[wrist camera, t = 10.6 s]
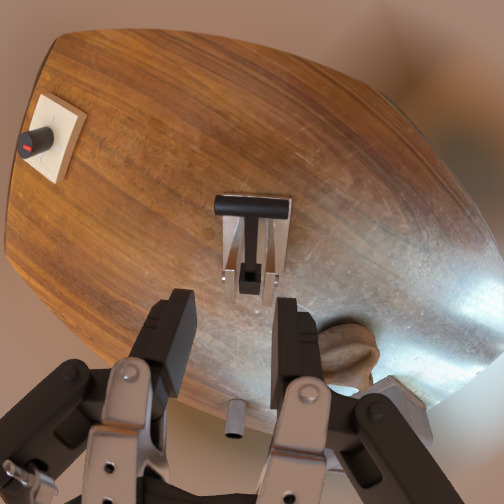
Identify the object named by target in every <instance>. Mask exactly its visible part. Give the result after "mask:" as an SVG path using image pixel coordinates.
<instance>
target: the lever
mask: <svg viewBox="0 0 504 504" xmlns="http://www.w3.org/2000/svg"><path fill="white" fill-rule="evenodd" d="M214 212H215V215H220V216H237V217H244V247H245V262H241V267H240V276H239V293H240V294H253V295H259V293H260V282H261V267H262V264H259V263H256V262H257V243H258V225H259V218H267V219H281V220H288V216H289V200H288V199H276V198H262V197H247V196H228V195H216V197H215V203H214Z"/></svg>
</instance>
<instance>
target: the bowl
mask: <svg viewBox="0 0 504 504" xmlns="http://www.w3.org/2000/svg"><path fill="white" fill-rule="evenodd" d="M317 336H318V344H319V350H320V357H321V364H322V371H323V378H324V380H325V382H326V384H332V385H338V386H349V387H354V388H357V389H358V390H360V391H366V390H368V389H369V388H371V387H372V386H373V377H372V374H371V370H372V369H373V367H374V366H375V365H376V363H377V362H378V360H379V357H380V352H379V350H378V348H377V346H376V341H375V338H374V336H373V334H372V333H371V332H370V331H369V330H368V329H367V328H365V327H363V326H361V325H357V324H342V325H337V326H334V327H331V328H329V329H327V330H325V331H322V332H321V333H320V334H319V335H317Z"/></svg>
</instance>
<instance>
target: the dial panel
mask: <svg viewBox="0 0 504 504" xmlns="http://www.w3.org/2000/svg"><path fill="white" fill-rule="evenodd" d="M86 117H87V114H86V113H84V112H83V111H81V110H79V109H77V108H76V107H74V106H72V105H71V104H69V103H67V102H66V101H64V100H62V99H60V98H59V97H57V96H55V95H54V94H52V93H45V94H41V95H40V98H39V101H38V103H37V106H36V109H35V112H34V115H33V119H32V122H31V125H30V129H29V131H31V130H35V129H38V128H42V127H49V128H50V129H51V130H52V132H53V135H54V141H53V145H52V147H51V148H50V149H49V150H48V151H45V152H42V153H40V154H37V155H35V156H32V157H30V158H27V159H24V160H25V161H26V162H27V163H29V164H30V165H31V166H32V167H34V168H35V169H36V170H38V171H39V172H40V173H41V174H43V175H44V176H45V177H47V178H48V179H49V180H50V181H52V182H53V183H54V184H56V183H58V182H60V181H62V180H64V178H65V175H66V172H67V168H68V165H69V162H70V159H71V156H72V153H73V151H74V148H75V145H76V142H77V140H78V137H79V134H80V132H81V129H82V127H83V124H84V122H85V120H86ZM22 159H23V158H22Z"/></svg>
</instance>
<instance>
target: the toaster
mask: <svg viewBox="0 0 504 504" xmlns="http://www.w3.org/2000/svg"><path fill="white" fill-rule="evenodd" d="M369 393H380V394H383V395H385V396H387V397H388V398H389V399H390V400H391V401H392V402H393V403H394V405H395V406H396V407H397V409H398V410H399V411H400V413H401V414H402V415H403V417H404V418H405V420H406V421H407V422H408V424H409V425H410V426H411V428H412V429H413V431H414V432H415V433H416V435H417V436H418V437H419V439H420V440H421V442H422V443H423V444H424V446H425V447H426V448H428V447H429V446H430V445H431V444H432V442H433V434H432V431H431V427H430V424H429V420H428V417H427V414H426V406H425V405H424V404H423V403H422V402H421V401H420V400H419V399H417V398H416V397H415V396H414V395H413V394H412V393H410V392H409V391H408V390H407V389H406V388H404V387H403V386H402V385H401V384H400V383H399V382H397V381H396V380H395V379H394V378H393V377H391V376H388V377H386V378H385V379H383V380H381V381H379V382H377V383H376V384H374V385H373V386H372V387H371V388H369V389H368V390H366V391H360V392H358V393H356V394H354V395H352V396H350V397H352V398H356V399H360V398H361V397H363V396H364V395H366V394H369ZM324 455H325V456H326V458H327V469H326V472H328V473H337V474H345V475H346V473H345V472H344V470H343V468H342V466H341V465H340V463H339V461H338V460H337V458H336V456H335V454H334V453H333V451H332V449H327V448H325V450H324Z"/></svg>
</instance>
